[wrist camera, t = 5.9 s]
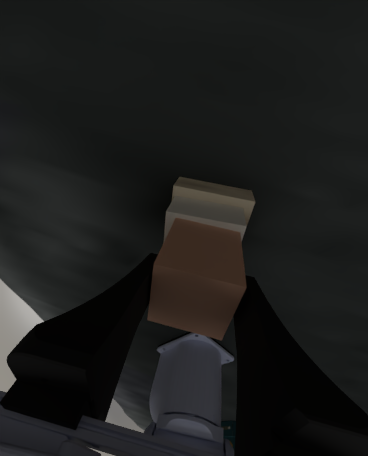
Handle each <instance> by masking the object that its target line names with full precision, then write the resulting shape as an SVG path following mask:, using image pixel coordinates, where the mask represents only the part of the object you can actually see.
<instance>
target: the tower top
mask: <svg viewBox="0 0 368 456" xmlns="http://www.w3.org/2000/svg"><path fill="white" fill-rule="evenodd" d="M175 218H181V219H185V220H189V221H194V222H198V223H202V224H207V225H211V226H215V227H219V228H224V229H228V230H232V231H237V232H240V235H241V242H242V239H243V236H244V233H245V230H246V227H247V226H246V221H245V215H244V210H243V208H241V207H236V206H230V205H225V204H219V203H214V202H208V201H203V200H197V199H191V198H186V197H180V196H175V197H174V199H173V200H172V202H171V204H170V205H169V207H168V209H167V211H166V219H165V231H164V241H165V239H166V237H167V235H168V233H169V231H170V229H171V226H172V224H173V222H174V220H175Z"/></svg>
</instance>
